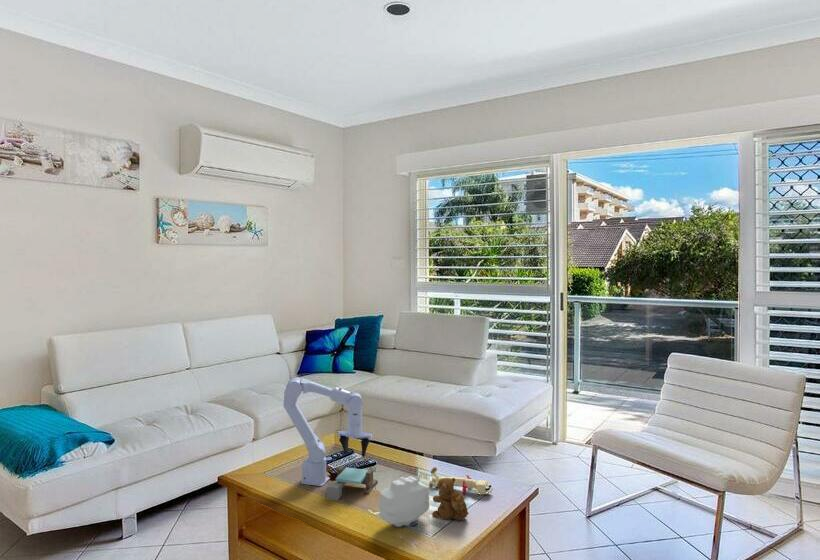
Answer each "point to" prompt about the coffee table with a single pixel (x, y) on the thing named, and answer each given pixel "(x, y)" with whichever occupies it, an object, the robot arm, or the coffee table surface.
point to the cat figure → (463, 483)
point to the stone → (334, 490)
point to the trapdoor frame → (369, 479)
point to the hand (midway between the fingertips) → (354, 455)
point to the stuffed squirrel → (449, 501)
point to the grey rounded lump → (404, 501)
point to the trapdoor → (352, 476)
